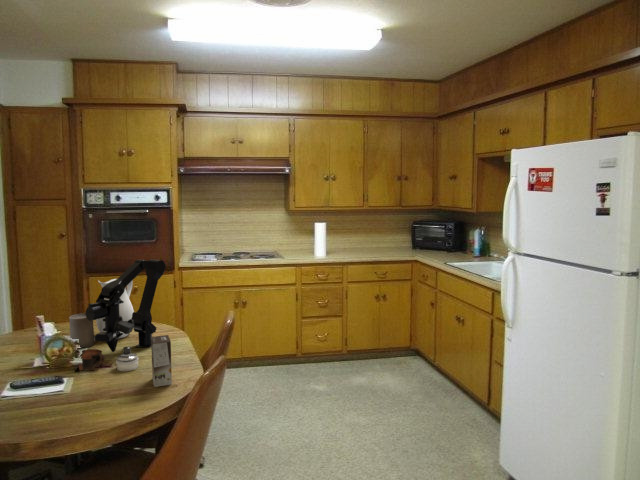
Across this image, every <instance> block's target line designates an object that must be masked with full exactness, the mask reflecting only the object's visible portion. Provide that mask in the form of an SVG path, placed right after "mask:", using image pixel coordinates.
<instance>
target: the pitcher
mask: <svg viewBox="0 0 640 480" xmlns="http://www.w3.org/2000/svg"><path fill="white" fill-rule="evenodd" d="M116 279H117V278H114V279H113V278H112V279H110V280H108V281H105V282H101V281H100V280H97V282H98V283H99V284H100V285H101V289H102V288H103V287H104V286H105V285H107V284H108V283H110V282H112V281H115V280H116ZM133 281H134V279H133V280H132V281H131V282H130V283H129V284H128V285H127V286H126V288H125V291H124V293H123V294H122V296H121V297H120V299H121V300H122V301H124V303H121V304H119V315H120V316H122V320H123V321H128V320H130V319H131V318H132V314H133V312H135V310H134V307H133V304H132V302H131V300H130V296H131V292H132V290H133V285H134V284H133V283H134V282H133ZM105 300H109V299H105ZM104 318H105V317H104ZM104 318H101V319H97V320H95V321H96V322H95V324H96V327H97V329H98V331H99V332H98V333H100V332H106V331H103V328H105V321H103V319H104ZM119 332H120V331H119ZM120 333H123V332H120ZM127 336H129V334H124V333H123V335H122V336H121V337H119V339H123V338H125V337H126V338H127Z"/></svg>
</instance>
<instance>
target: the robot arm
mask: <svg viewBox="0 0 640 480" xmlns="http://www.w3.org/2000/svg"><path fill="white" fill-rule="evenodd" d="M166 267H167V264H166V263H165V261H164V260H160V259H154V258H153V259H152V258H151V259H149V260H146V259H145V260H144V259H136V260H135V261H134V262H133V264H131V265H130V266H129V267H128V268H127V269H126V270H125V271H124V272H123V273H122V274H121V275H120V276H119V277H118V278H115V279H116V280H115V281H112V282H110V283H108V284H107V285H105V286H104V287H103V288H102V287H101V290H100V291H101V292H100V293H99V295H98V297H97V298H96V300H95V302H94V303H88V307H86V308H85V310H86V311H85V312H84V313H85V314H86V317H87V319H88V320H89V321H93V322H94V321H96V320H97V319H101V318H104V317H105V318H104V319H103V321H105V328H103V331H106V332H98V333H96V334H94V342H105V343H106V344H107V346H108V348H109V349H110V351H111V352H113V353H114V352H116V349H117V347H118V341H119V339H120V338H119V337H121V336H122V335H123V333H124V334H128V335H129V334H130V333H132V331H134V332H135V333H138V344H136V345H135V348H151V337H153V334H154V333H156V332H157V327H156V326H155V324H153V323H152V322H153V321H152V319H153V316H152V313H151V311H152V307H153V302H154V297H155V296H156V295H155V294H156V290H157V287H158V283H159V280H160V279H161V278H162V276H163V275H164V273H165V271H166ZM143 271H145V275H146V280H145V284H144V288H143V293H142V296H141V299H140V304H139V307H138V309H137V311H136V312H135V311H134V312H133V314H132V318H131V319H130V320H128V321H123V320H122V316H120V315H119V304H121V303H124V301H122V300H121V299H120V297H121V296H122V294H123V293H124V291H125V288H126V289H127V285H128V284H129V283H130V282H131V281H132V280H133V281H134V279H136V278H137V276H138V275H140V274H141V273H142V272H143ZM105 299H109V300H105ZM119 331H120V332H123V333H120V332H119Z"/></svg>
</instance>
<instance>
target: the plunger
mask: <svg viewBox="0 0 640 480" xmlns="http://www.w3.org/2000/svg"><path fill="white" fill-rule="evenodd" d="M122 350H123V351H122V353H123V354H120V355H118V356H117V358H116V359H118V360H119V361H130V360H134V359H136V358H137V356H138V355H137V354H136V353H132V347H131V346H124V347H123V348H122Z"/></svg>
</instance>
